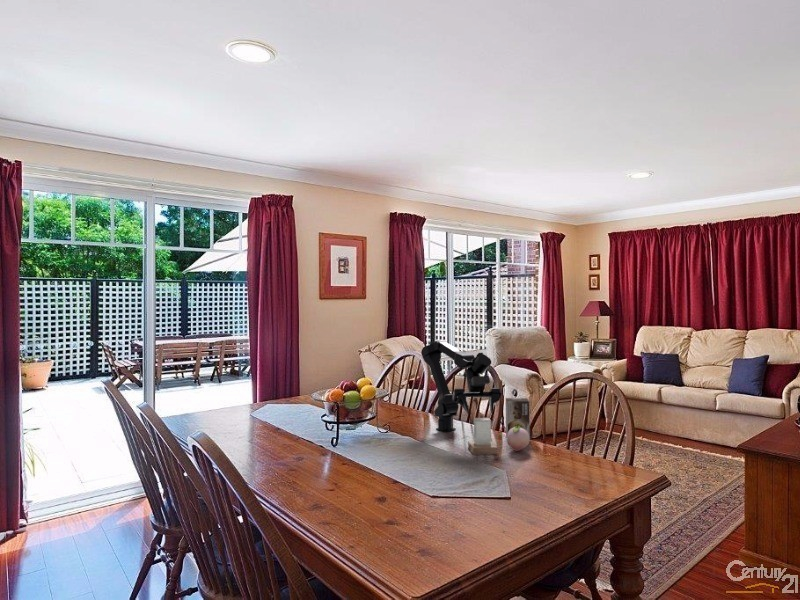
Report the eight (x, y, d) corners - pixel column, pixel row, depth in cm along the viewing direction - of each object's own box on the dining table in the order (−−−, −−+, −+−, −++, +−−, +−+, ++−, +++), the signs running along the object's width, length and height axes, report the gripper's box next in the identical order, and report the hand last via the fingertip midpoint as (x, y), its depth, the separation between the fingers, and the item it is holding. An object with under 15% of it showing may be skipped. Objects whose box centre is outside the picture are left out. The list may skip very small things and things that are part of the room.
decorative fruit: (530, 455, 187) (530, 428, 187) (507, 454, 189) (507, 427, 189) (528, 448, 196) (528, 422, 196) (507, 447, 198) (507, 421, 198)
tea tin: (473, 442, 195) (473, 418, 195) (488, 442, 195) (488, 417, 195) (476, 445, 191) (476, 420, 191) (491, 445, 191) (491, 420, 191)
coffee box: (527, 436, 214) (527, 397, 214) (530, 440, 207) (529, 400, 207) (505, 435, 215) (505, 397, 215) (507, 440, 208) (507, 400, 208)
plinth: (468, 447, 197) (468, 441, 197) (491, 447, 198) (491, 440, 198) (473, 454, 188) (473, 447, 188) (497, 454, 189) (497, 447, 189)
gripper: (453, 368, 201) (459, 401, 190) (500, 367, 202) (508, 401, 191) (450, 385, 209) (455, 418, 198) (494, 384, 210) (502, 417, 199)
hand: (480, 413), depth 196 cm, fingers open, 9 cm apart
